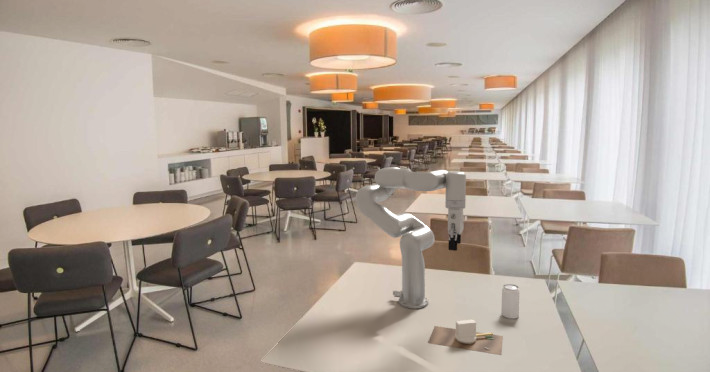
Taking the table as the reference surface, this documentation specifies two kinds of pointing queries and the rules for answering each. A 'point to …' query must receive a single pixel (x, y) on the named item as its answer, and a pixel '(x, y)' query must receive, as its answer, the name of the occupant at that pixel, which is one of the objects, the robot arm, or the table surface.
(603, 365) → the table surface
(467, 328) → the knob
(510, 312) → the can
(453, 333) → the dial board
